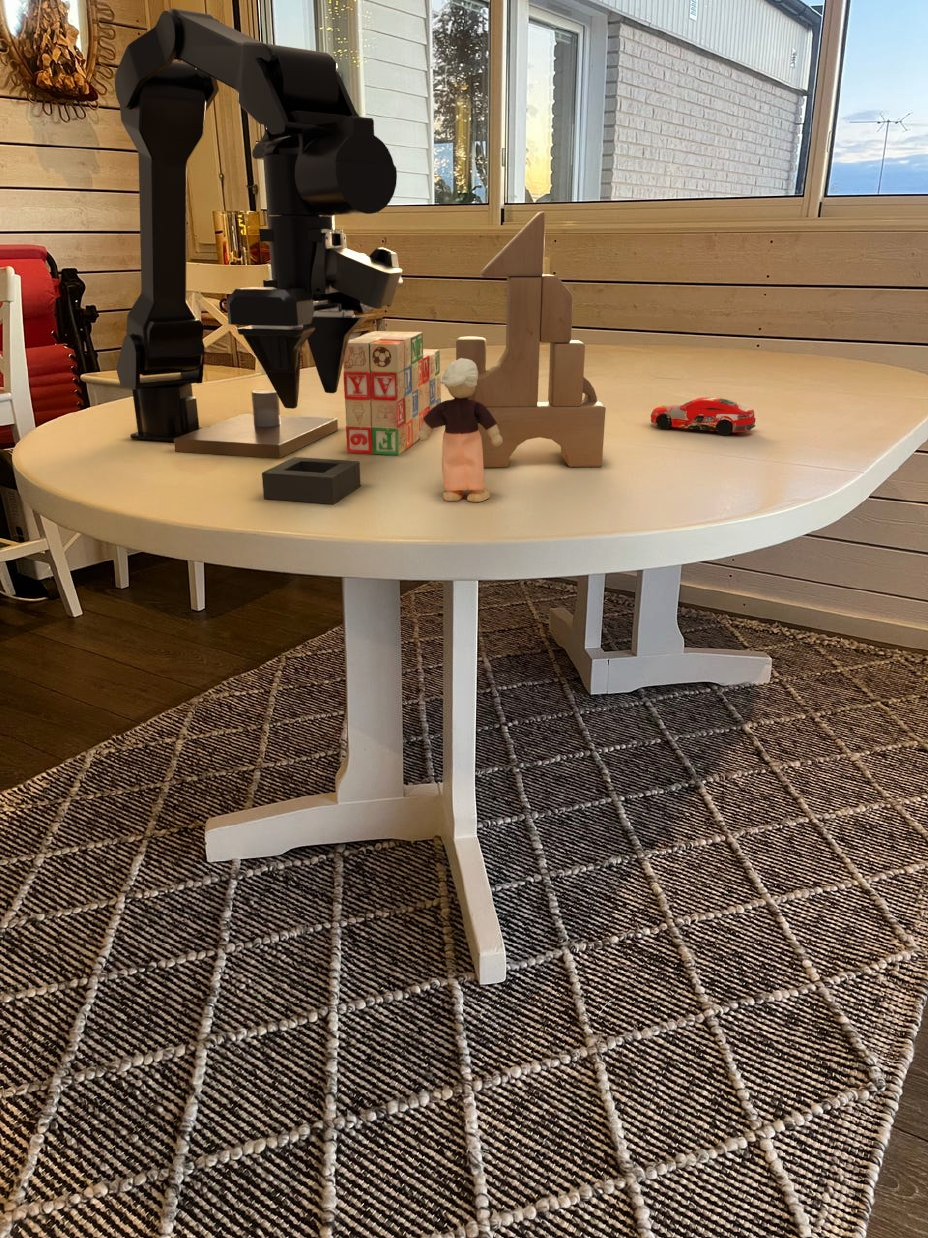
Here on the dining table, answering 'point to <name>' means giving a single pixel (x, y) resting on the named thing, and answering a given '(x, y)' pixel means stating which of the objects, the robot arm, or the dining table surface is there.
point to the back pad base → (258, 431)
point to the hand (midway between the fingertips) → (311, 400)
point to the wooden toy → (535, 362)
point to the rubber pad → (311, 480)
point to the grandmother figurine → (462, 433)
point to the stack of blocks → (388, 390)
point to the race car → (705, 416)
